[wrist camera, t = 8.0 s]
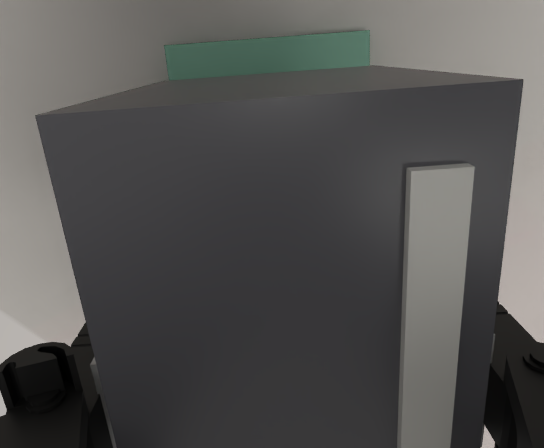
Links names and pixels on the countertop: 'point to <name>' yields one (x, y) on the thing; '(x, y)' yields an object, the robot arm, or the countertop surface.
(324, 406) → the block
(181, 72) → the board
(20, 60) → the countertop surface
